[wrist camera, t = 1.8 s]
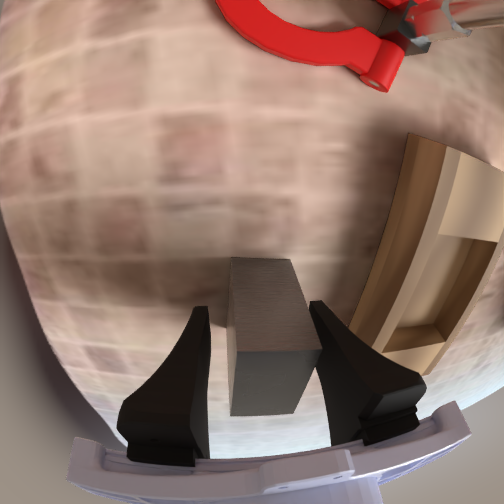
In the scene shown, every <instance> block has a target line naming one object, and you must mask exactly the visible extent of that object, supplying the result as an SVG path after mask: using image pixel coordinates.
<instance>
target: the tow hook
mask: <svg viewBox="0 0 504 504" xmlns="http://www.w3.org/2000/svg"><path fill="white" fill-rule="evenodd" d="M376 1H378V2H379V3H381V4H382V5H384V6H385V7H387V8H388V9H389V10H388V12H387V14H386V16H385V18H384V20H383V22H382V24H381V26H380V28H379V31H378V33H377V35H374V34H373V33H371V32H370V31H368V30H366V29H365V28H363V27H354V28H352V29H349V30H344V31H339V32H318V31H314V30H309V29H304V28H301V27H298V26H296V25H293V24H291V23H288V22H286V21H284V20H282V19H281V18H279V17H278V16H276V15H275V14H273V13H271V12H270V11H269V10H268V9H267V8H266V7H265V6H264V5H263V4H262V3H261V2H260V1H259V0H215V2H216V4H217V5H218V7H219V9H220V11H221V12H222V14H223V16H224V18H225V19H226V21H227V22H228V23H229V24H230V25H231V26H232V27H233V28H234V29H235V30H236V31H237V32H238V33H239V34H240V35H241V36H242V37H244V38H245V39H247V40H248V41H250V42H252V43H253V44H255V45H256V46H258V47H260V48H261V49H263V50H264V51H266V52H269V53H271V54H274V55H277V56H279V57H282V58H284V59H287V60H289V61H293V62H299V63H304V64H309V65H314V66H342V65H345V66H347V67H348V68H350V69H352V70H353V71H355V72H357V73H358V74H360V79H361V80H362V81H363V82H364V83H365V84H367V85H368V86H370V87H372V88H374V89H376V90H378V91H381V92H385V93H387V92H388V91H389V89H390V87H391V84H392V82H393V80H394V78H395V76H396V74H397V71H398V69H399V67H400V65H401V63H402V60H403V58H404V56H410V55H416V54H422V53H427V52H428V50H429V47H430V45H431V42H435V41H438V40H447V39H453V38H461V37H468V36H469V35H470V34H471V32H472V30H473V29H481V28H492V27H504V0H428V1H427V0H376Z"/></svg>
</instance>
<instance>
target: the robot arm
mask: <svg viewBox="0 0 504 504" xmlns="http://www.w3.org/2000/svg"><path fill="white" fill-rule="evenodd" d="M309 312H310V315H311V318H312V320H313V323H314V326H315V329H316V332H317V335H318V337H319V340H320V343H321V346H322V351H321V354H320V356H319V359H318V361H317V363H316V366H315V367H316V370H317V373H318V376H319V379H320V382H321V386H322V390H323V395H324V400H325V405H326V410H327V416H328V423H329V430H330V439H331V447H326V448H321V449H316V450H310V451H304V452H298V453H291V454H283V455H275V456H265V457H252V458H234V459H210V451H209V435H208V411H207V389H208V378H209V368H210V357H211V332H210V323H209V313H208V306H195V307H194V308H193V311H192V314H191V316H190V319H189V321H188V323H187V325H186V327H185V329H184V331H183V333H182V335H181V336H180V338H179V340H178V342H177V343H176V345H175V346H174V348H173V350H172V351H171V352H170V354H169V355H168V357H167V358H166V359H165V361H164V362H163V363H162V365H161V366H160V367H159V368H158V369H157V370H156V372H155V373H154V374H153V375H152V376H151V377H150V378H149V379H148V380H147V381H146V382H145V383H144V384H143V385H142V386H141V387H140V388H138V389H137V390H136V391H135V392H134V393H132V394H131V395H130V396H129V397H127V398H126V399H125V400H124V401H123V403H122V406H121V409H120V411H119V415H118V421H117V430H118V432H119V433H120V434H121V435H122V436H123V437H124V438H125V439H126V441H127V442H128V448H127V452H121V451H115V450H110V449H105V447H104V446H103V445H102V444H100V443H98V442H96V441H92V440H87V439H83V438H79V437H75V438H74V442H73V447H72V451H71V456H70V461H69V467H68V473H67V478H66V480H67V481H68V482H70V483H72V484H73V485H75V486H77V487H79V488H81V489H83V490H85V491H87V492H89V493H91V494H95V495H98V496H102V497H106V498H110V499H114V500H118V501H123V502H127V503H132V504H383V500H382V496H381V493H380V489H379V485H381V484H384V483H386V482H389V481H391V480H394V479H396V478H398V477H401V476H403V475H405V474H407V473H410V472H412V471H414V470H416V469H418V468H420V467H422V466H424V465H426V464H428V463H430V462H432V461H434V460H436V459H438V458H440V457H442V456H444V455H445V454H447V453H449V452H450V451H452V450H453V449H454V448H456V447H457V446H458V445H460V444H461V443H462V442H463V441H464V440H466V439H467V438H468V437H469V436H471V434H472V433H471V431H470V429H469V427H468V425H467V423H466V421H465V419H464V417H463V415H462V413H461V411H460V409H459V407H458V405H457V403H456V401H452V402H450V403H447V404H445V405H443V406H441V407H439V408H438V409H436V410H435V411H434V412H433V413H432V415H431V416H429V417H426V418H424V419H421V420H418V418H417V416H416V412H417V408H416V404H417V402H418V401H419V400H420V399H421V398H422V396H423V395H424V394H425V392H426V389H427V387H426V384H425V382H424V380H423V378H422V377H421V375H420V374H419V372H416V371H414V370H411V369H409V368H406V367H404V366H402V365H400V364H398V363H396V362H394V361H392V360H390V359H388V358H386V357H385V356H383V355H382V354H380V353H378V352H377V351H375V350H374V349H372V348H371V347H370V346H368V345H367V344H366V343H364V342H363V341H362V340H361V339H359V338H358V337H357V336H356V335H355V334H354V333H353V332H352V331H350V330H349V329H348V328H347V327H346V326H345V325H344V324H343V323H342V322H341V321H340V320H339V319H338V318H337V316H336V315H335V314H334V313H333V312H332V311H331V310H330V309H329V308H328V307H327V306H326V305H325V304H324V303H323V301H322V300H320V301H310V305H309Z"/></svg>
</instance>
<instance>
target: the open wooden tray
mask: <svg viewBox="0 0 504 504" xmlns="http://www.w3.org/2000/svg"><path fill="white" fill-rule="evenodd" d="M503 247H504V172H503V171H501V170H499V169H497V168H495V167H493V166H491V165H489V164H487V163H485V162H483V161H481V160H479V159H477V158H474V157H472V156H470V155H468V154H466V153H463V152H461V151H459V150H456V149H454V148H451V147H449V146H446V145H444V144H441V143H438V142H435V141H432V140H429V139H426V138H423V137H420V136H417V135H414V134H410V133H408V139H407V144H406V149H405V153H404V158H403V162H402V167H401V171H400V175H399V179H398V183H397V187H396V191H395V195H394V199H393V202H392V206H391V210H390V213H389V217H388V220H387V223H386V227H385V230H384V233H383V236H382V239H381V243H380V246H379V249H378V252H377V255H376V257H375V260H374V263H373V266H372V269H371V272H370V274H369V277H368V280H367V283H366V285H365V288H364V290H363V293H362V296H361V298H360V301H359V303H358V306H357V308H356V311H355V313H354V315H353V318H352V320H351V322H350V325H349V327H348V329H349V330H350V331H352V332H353V333H354V334H355V335H356V336H357V337H358V338H359V339H361V340H362V341H363V342H364V343H366V344H367V345H368V346H370V347H371V348H372V349H374V350H375V351H377V352H378V353H380V354H382V355H383V356H385V357H386V358H388V359H390V360H392V361H394V362H396V363H398V364H400V365H402V366H404V367H406V368H409V369H411V370H414V371H416V372H419V374H420V375H421V376H424V375H428V374H430V372H431V371H432V370H433V368H434V367H435V366H436V364H437V363H438V362H439V360H440V359H441V358H442V356H443V355H444V353H445V352H446V351H447V349H448V348H449V346H450V345H451V343H452V342H453V340H454V339H455V337H456V336H457V334H458V333H459V331H460V330H461V328H462V327H463V325H464V323H465V322H466V320H467V318H468V317H469V315H470V313H471V312H472V310H473V308H474V307H475V305H476V303H477V301H478V299H479V298H480V296H481V294H482V292H483V290H484V288H485V286H486V284H487V282H488V280H489V278H490V276H491V274H492V272H493V270H494V268H495V266H496V263H497V261H498V259H499V257H500V254H501V252H502V250H503Z"/></svg>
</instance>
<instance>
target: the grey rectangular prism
mask: <svg viewBox="0 0 504 504" xmlns="http://www.w3.org/2000/svg"><path fill="white" fill-rule="evenodd" d="M226 332H227V359H228V383H229V403H230V416H264V415H280V414H293V413H294V411H295V409H296V407H297V405H298V403H299V401H300V398H301V396H302V394H303V392H304V390H305V388H306V386H307V383H308V381H309V379H310V377H311V375H312V372H313V370H314V368H315V366H316V363H317V361H318V359H319V356H320V354H321V351H322V346H321V343H320V340H319V337H318V335H317V332H316V329H315V326H314V323H313V320H312V318H311V315H310V312H309V309H308V306H307V304H306V301H305V298H304V295H303V293H302V290H301V287H300V285H299V282H298V279H297V276H296V274H295V271H294V268H293V266H292V263H291V261H290V260H289V259H264V258H240V257H231V268H230V282H229V296H228V311H227V326H226Z"/></svg>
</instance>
